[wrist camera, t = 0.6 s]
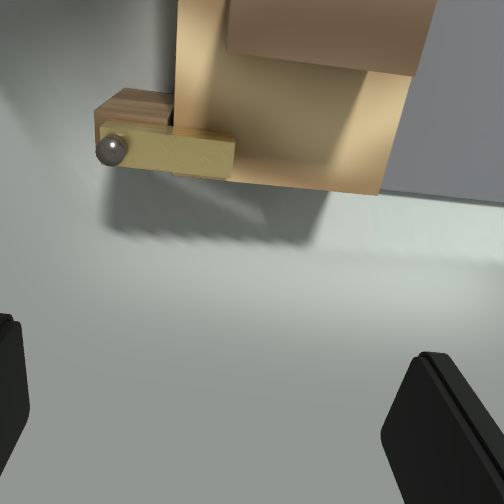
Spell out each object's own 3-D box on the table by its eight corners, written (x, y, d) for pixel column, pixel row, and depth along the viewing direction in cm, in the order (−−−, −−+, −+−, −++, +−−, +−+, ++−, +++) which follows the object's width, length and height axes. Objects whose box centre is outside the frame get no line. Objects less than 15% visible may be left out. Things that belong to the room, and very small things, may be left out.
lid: (189, -237, 18) (172, -379, 12) (470, -177, 20) (595, -274, 13) (174, 167, 27) (159, 216, 20) (370, 187, 28) (415, 238, 22)
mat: (454, -165, 25) (459, -169, 25) (672, -117, 27) (681, -119, 26) (359, 184, 36) (362, 187, 35) (521, 202, 37) (526, 205, 37)
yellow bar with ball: (108, 118, 23) (94, 131, 21) (234, 133, 24) (235, 147, 22) (109, 153, 24) (96, 170, 22) (230, 167, 25) (231, 184, 23)
